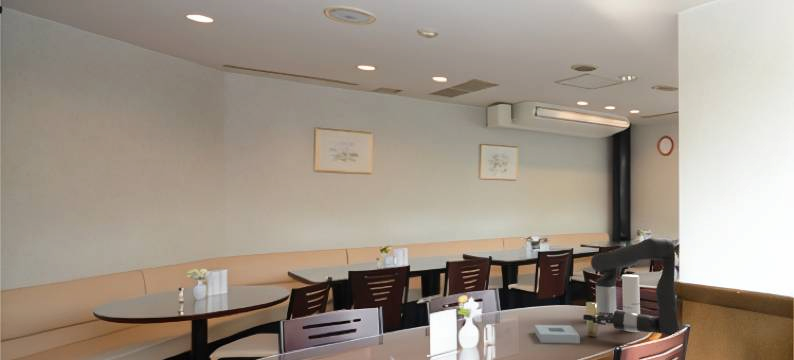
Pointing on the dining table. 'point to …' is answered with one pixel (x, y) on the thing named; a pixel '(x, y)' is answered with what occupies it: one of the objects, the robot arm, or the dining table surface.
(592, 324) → the yellow tall cylinder
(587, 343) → the dining table surface
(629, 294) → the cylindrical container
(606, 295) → the robot arm
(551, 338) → the jig
